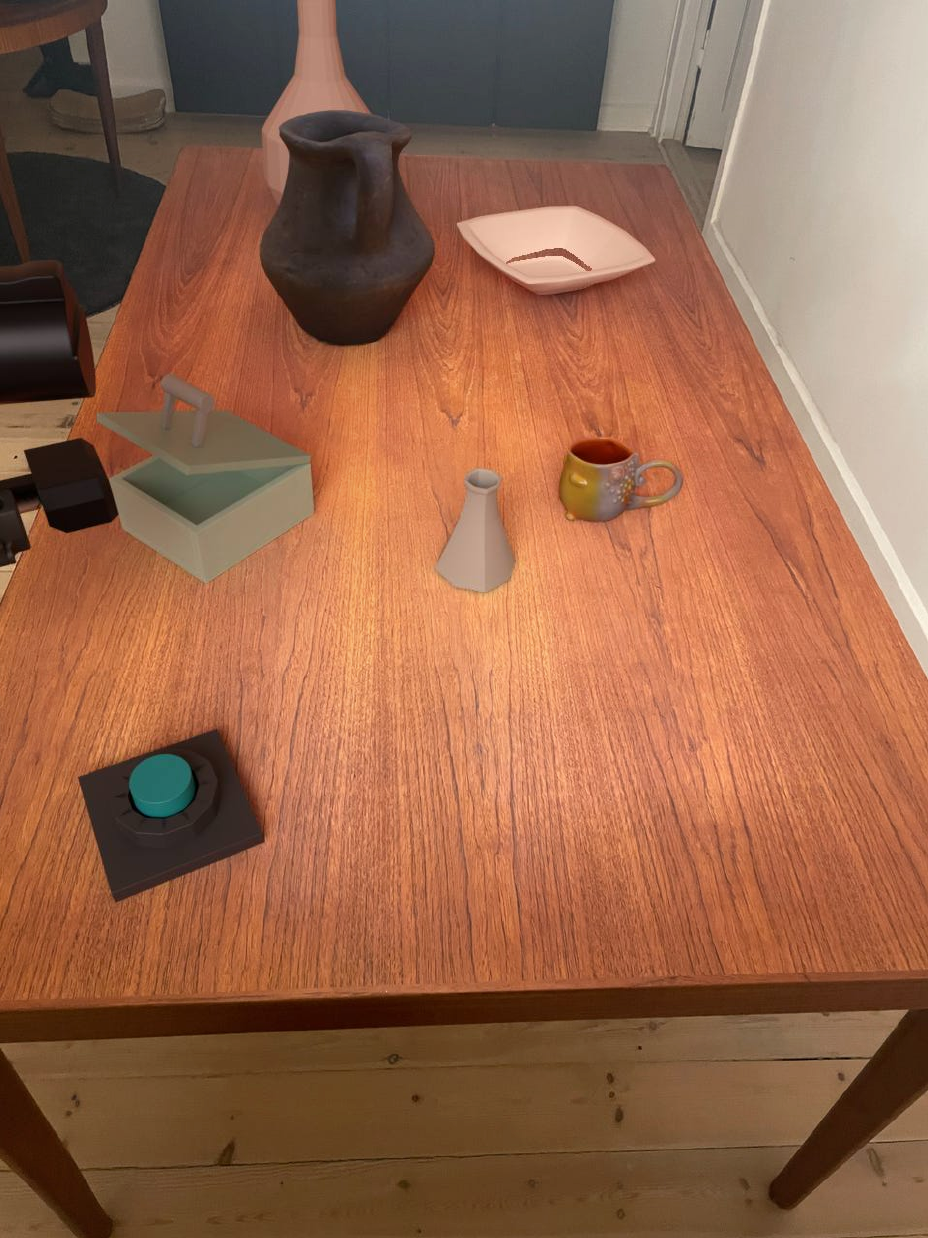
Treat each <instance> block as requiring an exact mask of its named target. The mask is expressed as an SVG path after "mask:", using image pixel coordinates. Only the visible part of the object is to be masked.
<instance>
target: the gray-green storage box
mask: <svg viewBox="0 0 928 1238" xmlns="http://www.w3.org/2000/svg"><path fill="white" fill-rule="evenodd" d="M108 479H109V482H110V485H111V488H112V491H113V495H114V498H115V502H116V506H117V510H118V513H119V515H118V518H119V522H120V526H121V529H122V530H123V531H124V532H126V533H128V534H129V535H131V537H134V538H135V539H137V540H139V541H140V542H141V543H143V544H144V545H145V546H147V547H148V548H150V549H152V550H154V551H155V552H157V553H158V554H159V555H161V556H162V557H164V558H166V559H167V560H169V561H170V562H171V563H173V564H175V565H176V566H178V567H179V568H180V569H182V570H183V571H185V572H187V573H188V574H190V575H191V576H192V577H194V578H196V579H197V580H198V581H200V582H202V583H203V584H205V585H207V584H209V583H210V582H211V581H213V580H214V579H216V578H217V577H219V576H220V575H223V573H226V572H227V571H228V570H230V569H231V568H233V567H234V566H236V565H238V564H240V563H241V562H242V561H244V560H245V559H247V558H248V557H249V556H251V555H253V554H254V553H256V552H257V551H259V550H261V549H262V548H264V547H265V546H266V545H268V544H269V543H271V542H272V541H274V540H276V539H278V538H279V537H280V536H282V535H283V534H285V533H287V532H288V531H290V530H291V529H293V528H294V527H295V526H297V525H299V524H300V523H301V522H303V521H304V520H306V519H308V518H309V517H311V516H312V515H314V514H315V504H314V503H315V502H314V489H313V476H312V464H311V462H310V463H308V464H298V465H288V466H278V467H267V468H257V469H247V470H237V471H226V472H216V473H206V474H196V475H186V474H184V473H183V472H181V471H179V470H178V469H176V468H174V467H172V466H171V465H169V464H167V463H166V462H164V461H162V460H161V459H159V458H157V457H156V456H154V455H151V456H149V457H147V458H145V459H143V460H141V461H139V462H138V463H135V464H134V465H132V466H130V467H128V468H126V469H124V470H122V471H119V473H118V472H117V473H116V474H114V475H113V476H111V477H108Z"/></svg>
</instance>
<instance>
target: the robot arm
mask: <svg viewBox="0 0 928 1238" xmlns="http://www.w3.org/2000/svg"><path fill="white" fill-rule="evenodd" d="M94 358H95V357H94V351H93V346H92V341H91V334H90V329H89V325H88V321H87V316H86V313H85V309H84V306H83V305H82V304H81V305H79V302H78V299H77V296H76V294H75V290H74V288H73V287H72V285H71V284H70V283H69V282H68V281H67V277H66V274H65V270H64V266H63V263H62V262H60V261H59V260H57V259H45V260H43V259H42V260H32V261H28V262H24V263H21V264H18V265H17V264H16V265H4V266H3V265H1V266H0V406H1V405H2V406H3V405H13V404H14V405H15V404H24V403H26V404H27V403H38V402H39V403H40V402H53V401H66V400H77V399H78V400H79V399H91V398H95V397H96V393H97V376H96V367H95V366H96V365H95V359H94ZM23 453H24V456H25V459H26V462H27V465H28V467H29V471H30V473H26V474H22V475H18V476H14V477H8V478H5V479H1V480H0V568H2V567H7V566H10V565H15V564H17V562H18V561H17V560H16V556H17V554H19V553H23V552H26V551H30V550H31V548H32V545H31V542H30V538H29V536H28V533H27V530H26V526H25V524H24V521H23V517H22V515H21V514H25V513H30V512H34V511H38V510H40V509H43V512H44V515H45V518H46V520H47V523H48V526H49V528H52V529H54V530H56V531H60V532H62V533H65V534H71V533H74V532H75V533H76V532H78V531H82V530H87V529H90V528H94V527H98V526H102V525H106V524H111V523H113V521H114V520H115V519H116V518H117V517H119V513H118V510H117V506H116V502H115V498H114V495H113V491H112V488H111V484H110V481H109V477H108V475H107V473H106V470H105V468H104V466H103V464H102V460H101V459H100V457H99V454H98V453H97V449H96V448H95V445H94V444H92V443H91V442H89V441H87V440H86V439H84V438H82V437H78V438H73V439H69V440H65V441H59V442H54V443H50V444H46V445H41V446H37V447H32V448H26V449H23Z"/></svg>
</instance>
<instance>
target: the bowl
mask: <svg viewBox="0 0 928 1238" xmlns="http://www.w3.org/2000/svg"><path fill="white" fill-rule="evenodd" d="M456 227H457V229H458V231H459V232H460V235H461V236H462V238H463V240H465V241H466V242H467V244H469V246H471V247H472V249H473V250H474V251H475V252H476V253H477V254H478V255H479V256H480V257H481V258H482V259H484V260H485V261H486V262H488V263H489V264H490V265H491V266H493V267H494V269H496V270H497V271H499V272H500V273H502V274H503V275H505V276H506V277H507V278H509V279H510V280H512V281H513V282H514V283H515V284H518V285H519V286H522V287H524V288H525V289H526V290H529V291H530V292H531V293H534V294H535V295H537V296H546V295H547V296H548V295H557V294H563V293H569V292H574V291H579V290H584V289H587V288H589V287H592V286H594V285H596V284H599V283H603V282H609V281H612V280H614V279H617V278H620V277H623V276H625V275H627V274H630V273H633V272H634V271H636V270H639V269H641V268H643V267H646V266H648V265H650V264H653V263H655V262H656V258H655V257H654V256H653V255H652V254H651V252H650V251H649V250H648V249H647V247H646V246H645V245H644V244H642V243H641V242H640V241H639V240H637V239H636V238H635V237H633V236H632V235H631V234H629V233H628V232H627V231H626V230H625V229H623V228H621V227H619V226H618V225H617V224H615V223H613V222H611V221H609V220H608V219H606V218H604V217H602V216H601V215H598V214H596V213H595V212H592V211H589V210H587V209H585V208H582V207H580V206H577V205H559V206H558V205H554V206H553V205H552V206H543V207H534V208H527V209H520V210H513V211H505V212H499V213H494V214H486V215H479V216H476V217H472V218H469V219H465V220H462V221H459V222H457V223H456ZM554 248H563V249H566V250H567V251H569V252H570V253H572V254H574V255H575V256H576V257H578V259H580V260H581V261H583V262H584V264H586V265H587V266H590V268H592V270H591V271H586V270H585V269H584V268H582V267H581V266H579V265H578V264H576V263H575V262H573V261H571V260H569V259H567V258H565V257H563V256H545V257H538V258H532V259H526V260H520V261H514V262H511V263H508V264H506V262H507V261H509V260H511V259H512V258H514V257H519V256H522V255H527V254H530V253H534V252H539V251H542V250H545V249H554ZM595 283H596V284H595ZM593 284H594V285H593ZM590 285H591V286H590ZM587 286H588V287H587ZM581 287H584V288H581ZM577 288H579V289H577ZM572 289H574V290H572ZM567 290H568V291H567ZM561 291H563V292H561ZM556 292H557V293H556Z"/></svg>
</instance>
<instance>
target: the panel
mask: <svg viewBox="0 0 928 1238" xmlns="http://www.w3.org/2000/svg"><path fill="white" fill-rule="evenodd" d="M160 754H172V755H176V756H179V757H181V758H183V759H184V760H185V761H186V762H187V763H188V764H189V766H190V768H191V772H192V776H193V779H194V783H195V793H194V796H193V798H192V800H191V802H190V803H189V804H188V806H187V807H186V808H184V809H183V810H182V811H180V812H179V813H177V814H174V815H172V816H169V817H163V818H155V817H150V816H147V815H145V814H143V813H142V812H141V811H139V809H138V808H137V807H136V805H135V802H134V799H133V796H132V794H131V791H130V787H129V780H130V776H131V774H132V772H133V771H134V769H135V768H136V767H137V766H138V765H139V764H140V763H141V762H142V761H144V760H146V759H147V758H150V757H152V756H155V755H160ZM77 779H78V782H79V786H80V790H81V793H82V797H83V800H84V804H85V807H86V811H87V813H88V814H87V815H88V817H89V821H90V824H91V828H92V831H93V835H94V838H95V842H96V845H97V849H98V852H99V855H100V859H101V862H102V865H103V869H104V873H105V876H106V880H107V883H108V886H109V889H110V893H111V896H112V898H113V901H114V903H119V902H120V901H122V900H126V899H128V898H131V897H133V896H135V895H138V894H141V893H143V892H145V891H147V890H150V889H153V888H155V887H158V886H160V885H163V884H165V883H168V882H170V881H172V880H175V879H177V878H180V877H182V876H185V875H187V874H189V873H192V872H195V871H197V870H199V869H202V868H204V867H207V866H209V865H212V864H215V863H217V862H220V861H222V860H224V859H226V858H230V857H232V856H234V855H237V854H239V853H241V852H244V851H246V850H250V849H252V848H254V847H256V846H260V845H261V844H264V843H265V839H264V834H263V831H262V829H261V826H260V824H259V821H258V819H257V817H256V815H255V812H254V810H253V808H252V806H251V804H250V800H249V799H248V796H247V794H246V792H245V789H244V787H243V785H242V783H241V780H240V778H239V775H238V773H237V770H236V768H235V766H234V763H233V762H232V760H231V757H230V755H229V752H228V750H227V748H226V745H225V743H224V741H223V738H222V736H221V734H220V732H219V729H218V728H214V729H211V730H208V731H206V732H203V733H199V734H197V735H194V736H191V737H189V738H185V739H182V740H180V741H178V742H175V743H172V744H169V745H165V746H163V747H160V748H157V749H155V750H152V751H148V752H146V753H143V754H141V755H140V754H139V755H137V756H134V757H131V758H129V759H126V760H123V761H120V762H118V763H114V764H111V765H109V766H105V767H103V768H100V769H97V770H94V771H92V772H89V773H86V774H82V775H80V776H78V777H77Z"/></svg>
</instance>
